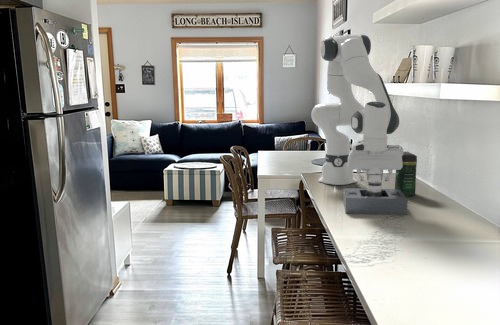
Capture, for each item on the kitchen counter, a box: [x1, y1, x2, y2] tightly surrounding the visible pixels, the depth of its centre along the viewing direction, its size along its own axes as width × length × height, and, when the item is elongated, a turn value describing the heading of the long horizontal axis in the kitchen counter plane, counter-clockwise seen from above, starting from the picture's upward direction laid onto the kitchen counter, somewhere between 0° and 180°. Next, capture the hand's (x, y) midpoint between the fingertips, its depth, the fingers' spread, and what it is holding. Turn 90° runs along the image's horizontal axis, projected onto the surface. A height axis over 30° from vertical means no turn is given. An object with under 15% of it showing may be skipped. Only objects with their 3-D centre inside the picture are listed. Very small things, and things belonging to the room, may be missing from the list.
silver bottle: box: [365, 166, 384, 197], centre depth 163 cm, size 6×7×20 cm
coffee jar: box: [394, 151, 418, 197], centre depth 183 cm, size 10×8×19 cm
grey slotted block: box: [342, 187, 408, 216], centre depth 164 cm, size 15×22×6 cm
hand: (374, 180), depth 163 cm, fingers open, 8 cm apart
